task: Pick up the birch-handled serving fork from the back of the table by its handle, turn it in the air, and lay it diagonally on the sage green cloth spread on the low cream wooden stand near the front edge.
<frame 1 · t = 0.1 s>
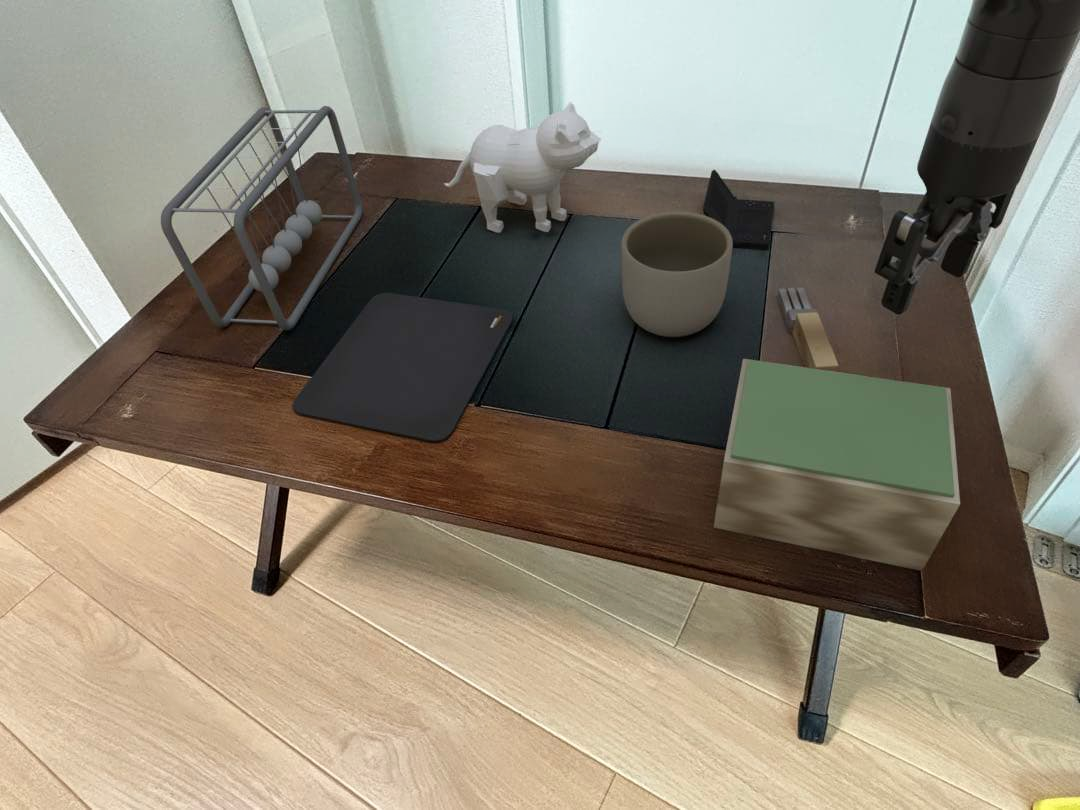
hand: (923, 290, 67), 14 cm above the table, tool pointing down, fingers open, 8 cm apart
handheld gaming console: (737, 226, 101), on the table
planter: (672, 316, 89), on the table
cat figurine: (524, 220, 107), on the table
newton's cradle: (298, 269, 104), on the table
fork: (804, 337, 84), on the table
mouse pad: (408, 361, 88), on the table
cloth: (840, 423, 62), resting on stand
stand: (818, 492, 69), on the table
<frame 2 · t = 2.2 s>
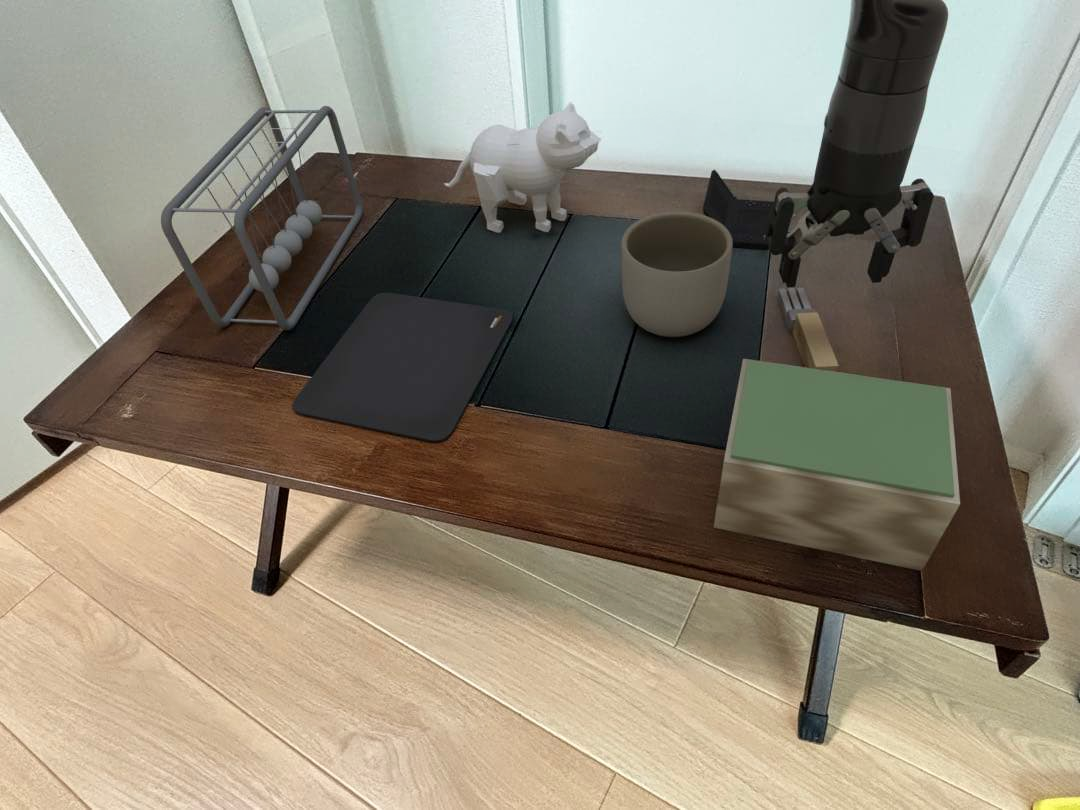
hand: (831, 280, 74), 11 cm above the table, tool pointing down, fingers open, 8 cm apart
nothing on the table moved.
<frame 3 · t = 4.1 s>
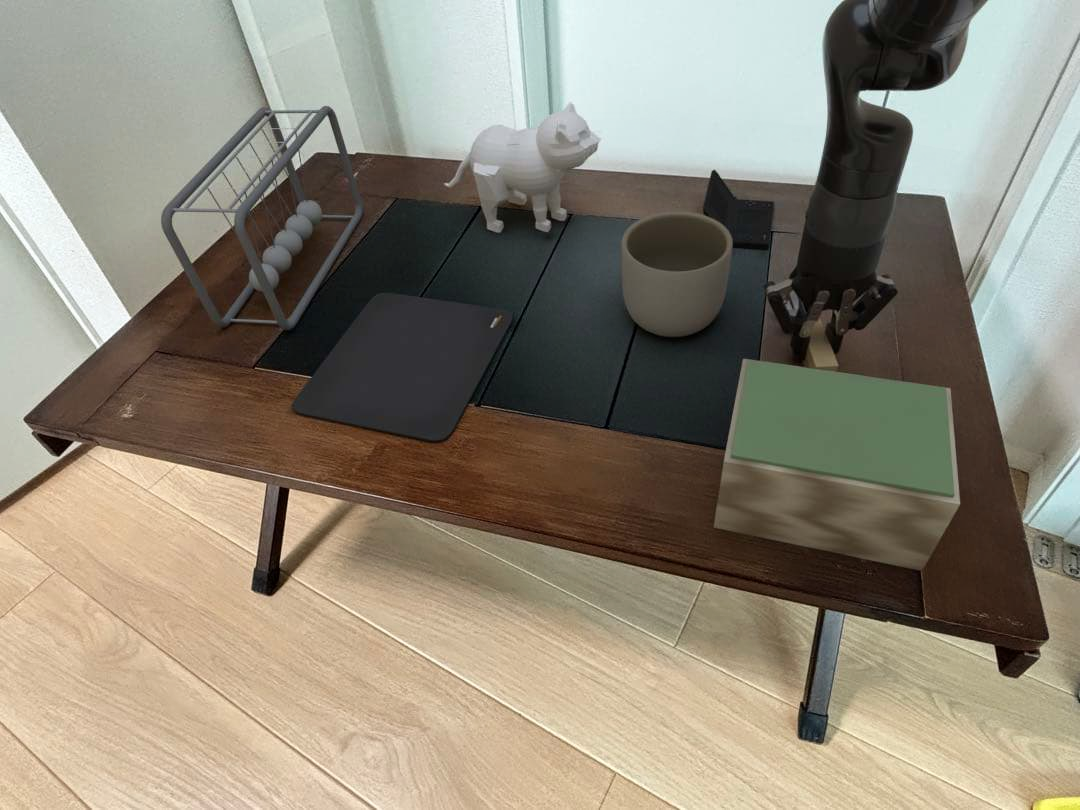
hand: (813, 354, 81), 1 cm above the table, tool pointing down, fingers closed on fork, 2 cm apart
fork: (804, 337, 84), on the table, touching gripper
everything else where it was.
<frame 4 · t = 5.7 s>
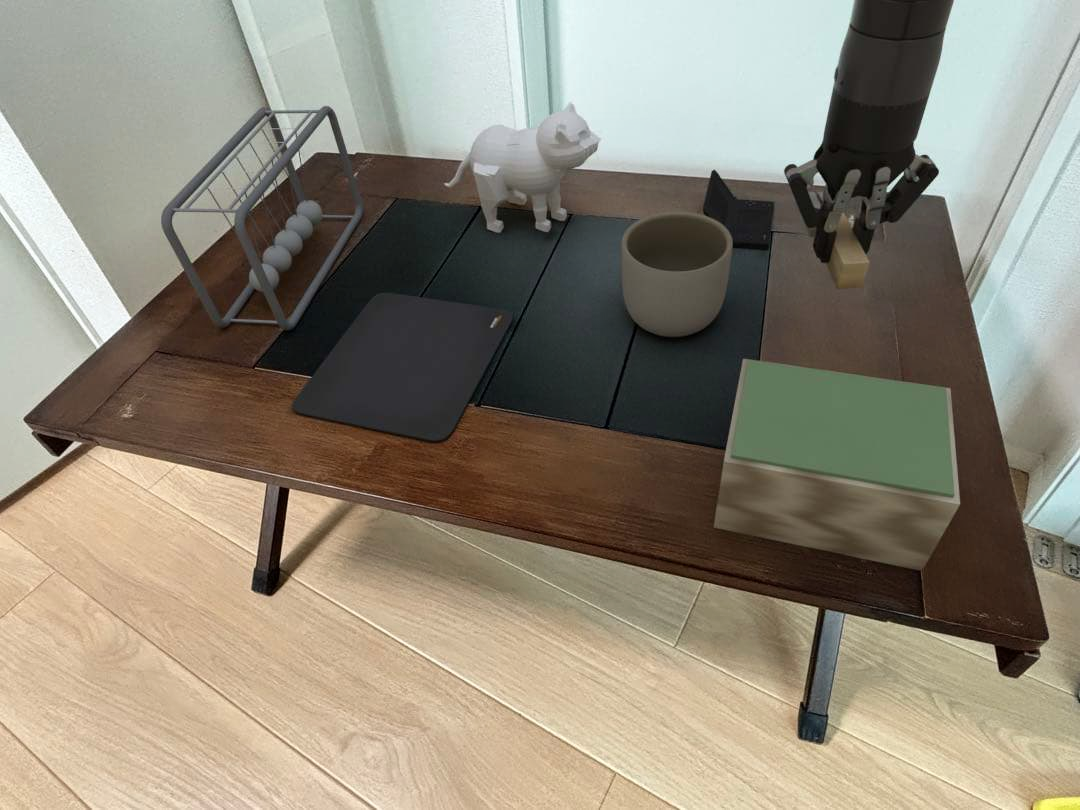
hand: (838, 256, 72), 14 cm above the table, tool pointing down, fingers closed on fork, 2 cm apart
fork: (827, 242, 75), point 13 cm above the table, touching gripper
everything else where it was.
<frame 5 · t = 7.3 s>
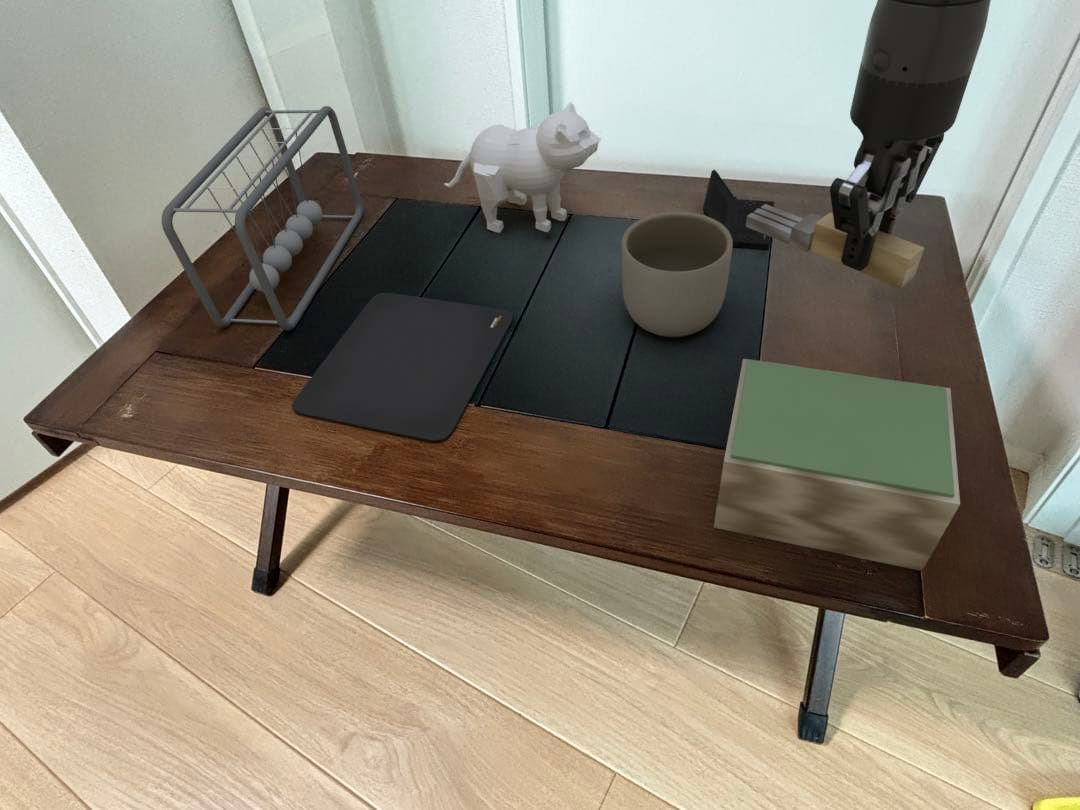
hand: (862, 258, 65), 18 cm above the table, tool pointing down, fingers closed on fork, 2 cm apart
fork: (826, 249, 67), point 17 cm above the table, touching gripper
everything else where it was.
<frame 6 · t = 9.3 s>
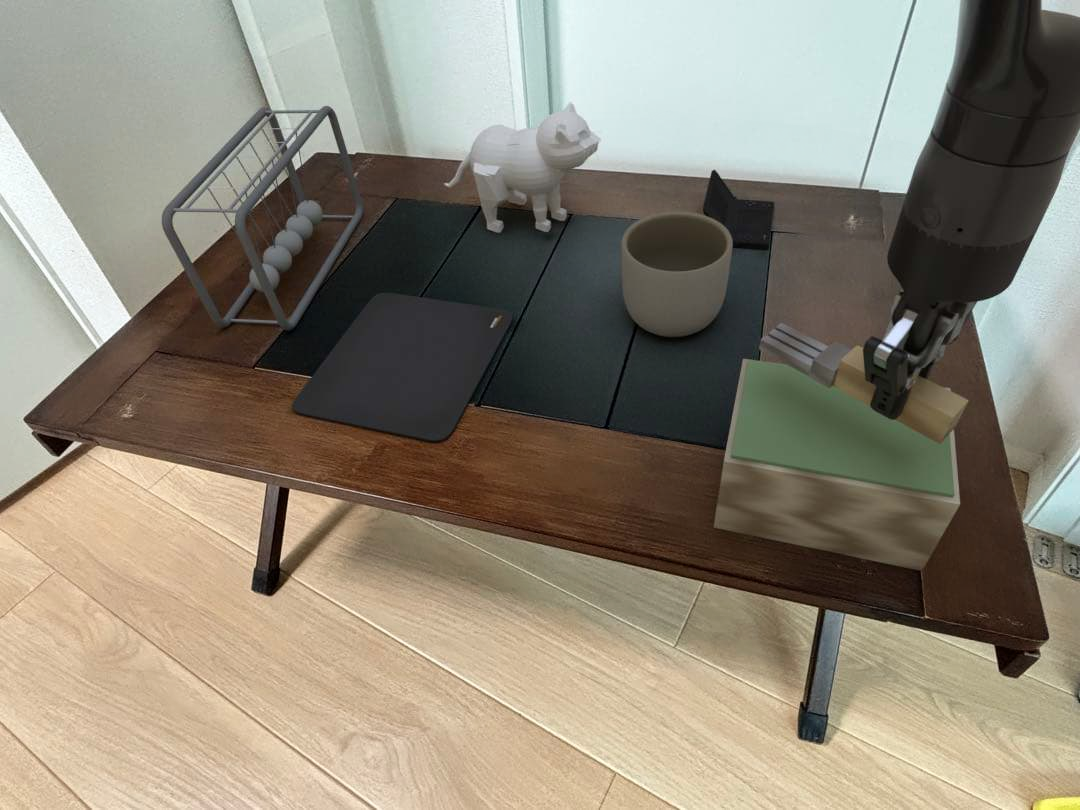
hand: (894, 401, 56), 15 cm above the table, tool pointing down, fingers closed on fork, 2 cm apart
fork: (851, 384, 59), point 15 cm above the table, touching gripper
everything else where it was.
when the fingers open (11 cm above the table, at t = 10.6 s): fork stays where it is, resting on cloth.
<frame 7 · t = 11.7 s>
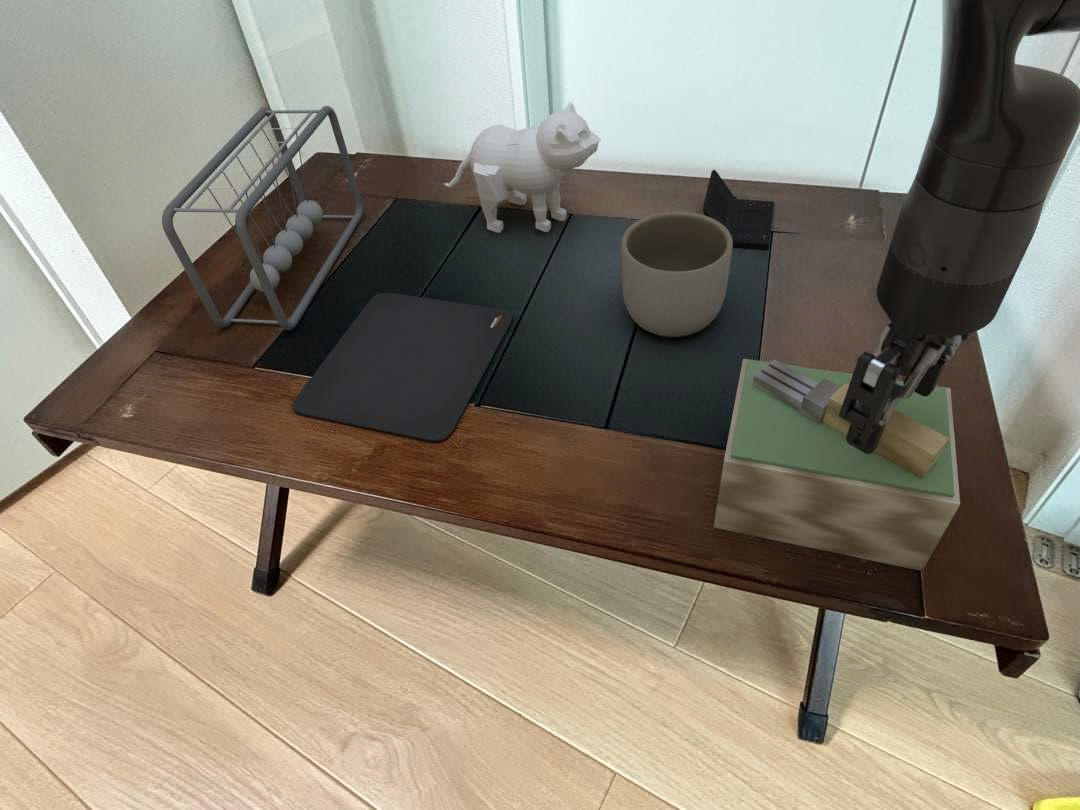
hand: (889, 417, 57), 13 cm above the table, tool pointing down, fingers open, 8 cm apart
fork: (840, 420, 62), point 10 cm above the table, touching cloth
everything else where it was.
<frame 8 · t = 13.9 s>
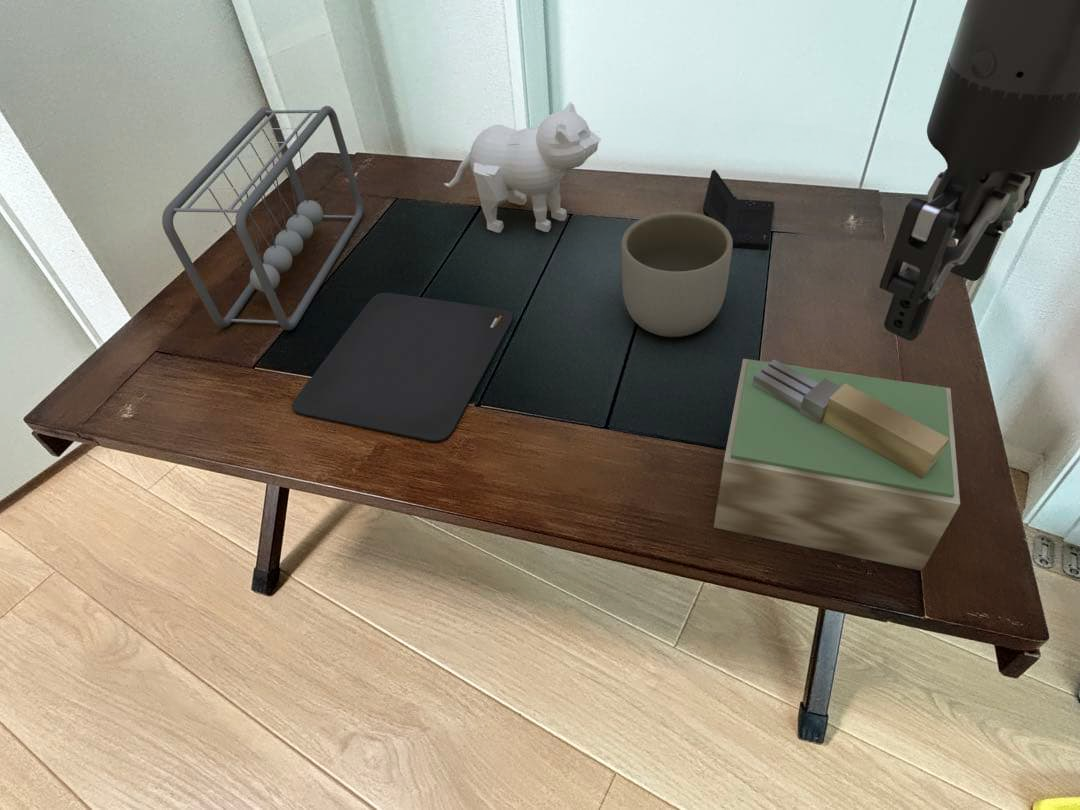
hand: (933, 302, 49), 25 cm above the table, tool pointing down, fingers open, 8 cm apart
nothing on the table moved.
at the end: fork inside the target area on the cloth (0.1 cm from its centre), point 0.4 cm above the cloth's base; fork tilted 0°; the gripper is holding nothing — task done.
